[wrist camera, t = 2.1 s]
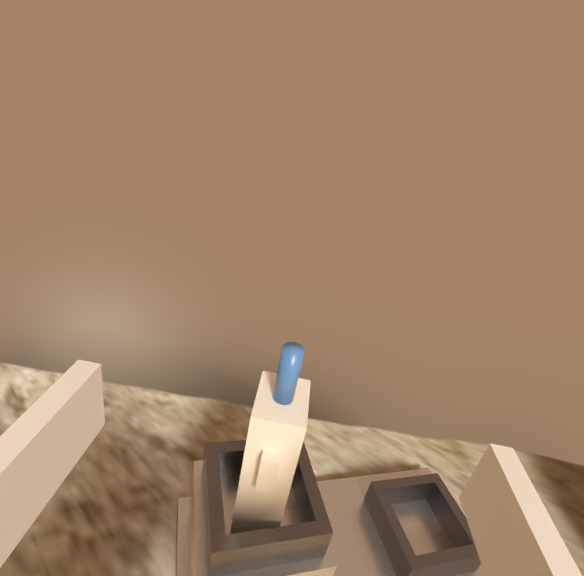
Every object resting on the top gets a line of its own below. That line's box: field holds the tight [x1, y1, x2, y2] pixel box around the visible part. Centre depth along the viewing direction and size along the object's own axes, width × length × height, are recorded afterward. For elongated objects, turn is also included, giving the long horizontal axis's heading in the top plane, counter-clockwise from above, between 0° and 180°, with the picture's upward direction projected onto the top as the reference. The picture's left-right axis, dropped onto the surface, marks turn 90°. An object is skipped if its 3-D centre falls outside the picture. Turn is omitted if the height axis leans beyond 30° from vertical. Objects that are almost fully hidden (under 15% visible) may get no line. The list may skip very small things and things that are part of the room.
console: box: [177, 440, 485, 576], centre depth 34 cm, size 30×14×12 cm, turn 104°
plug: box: [230, 342, 310, 533], centre depth 26 cm, size 4×5×16 cm, turn 174°
